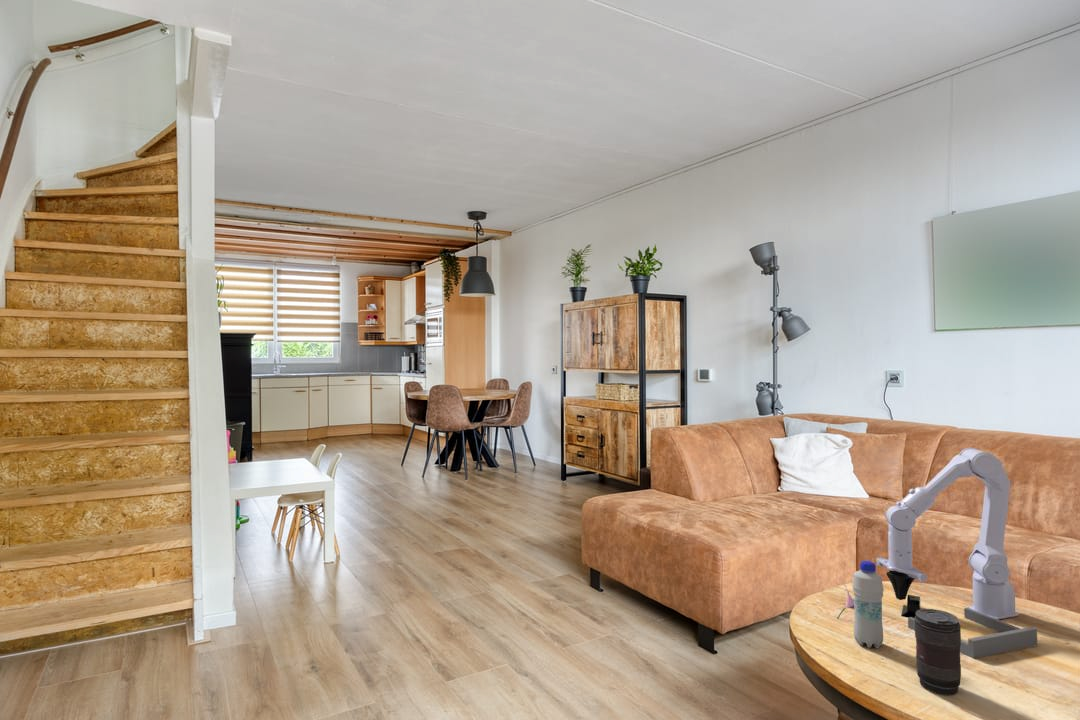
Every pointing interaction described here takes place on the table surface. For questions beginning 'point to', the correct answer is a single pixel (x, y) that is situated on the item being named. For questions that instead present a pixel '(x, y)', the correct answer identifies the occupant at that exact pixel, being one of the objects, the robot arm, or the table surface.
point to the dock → (993, 636)
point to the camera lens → (938, 651)
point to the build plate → (911, 606)
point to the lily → (848, 602)
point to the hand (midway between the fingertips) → (900, 598)
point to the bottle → (868, 605)
